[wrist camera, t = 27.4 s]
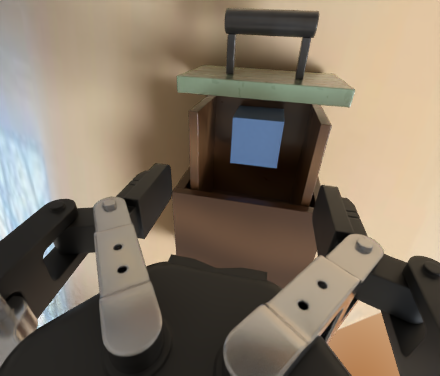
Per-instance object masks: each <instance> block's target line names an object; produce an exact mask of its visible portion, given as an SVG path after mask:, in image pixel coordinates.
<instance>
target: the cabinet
mask: <svg viewBox="0 0 440 376" xmlns="http://www.w3.org/2000/svg"><path fill="white" fill-rule="evenodd" d="M320 187H321V186H320V182H319V178H318V177H317V181H316V184H315V188H314V192H313V195H312V199H311V202H310V206H309V207H306V206H299V205H293V204H286V203H279V202H272V201H265V200H259V199H252V198H245V197H238V196H232V195H225V194H218V193H211V192H204V191H198V190H191V186H190V167H189V168H188V170H187V171H186V173H185V174H184V176H183V177H182V179H181V180H180V181H179V183H178V184H177V186H176V187H175V188H174V190H173V191H172V199H173V214H174V228H175V242H176V255H177V256H182V257H188V258H193V259H196V260H198V261H201V262H203V263H206V264H208V265H210V266H213V267H215V268H248V269H253V270H259V271H264V272H267V280H268V281H271V282H273V283H274V284H276V285H278V286H279V287H281V288H282V289H283V288H284V287H285V286H286V285H288V284H289V283H290V282H291V281H292V280H293V279H294V278H295V277H296V276H297V275H298V274H299V273H301V272H302V271H303V270H304V269H305V268H306V267H307V266H308V265H309V264H310V263H311V262H312V261H313V260H314V257H315V254H316V251H317V247H316V241H315V235H314V229H313V223H312V214H313V209H314V206H315V202H316V199H317V196H318V192H319V189H320Z"/></svg>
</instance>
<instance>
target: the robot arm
mask: <svg viewBox="0 0 440 376" xmlns="http://www.w3.org/2000/svg"><path fill="white" fill-rule="evenodd" d="M171 195H172V180H171V168H170V166H169V165H166V164H158V163H155V164H154V165H153V166H152V167H151V168H150V169H149V171H144V172H142V173H140V174H138V175H137V176H136V177H135V178H134V179H133V181H131V182H130V183H129V185H127V186H126V187H125V188H124V189H123V190H122V191H121V192H120V193H119V194H118V195H117V196H116V197H108V198H104V199H102V200H100V201H98V202H97V203H96V204H95V205H94V207H93V208H77V207H76V204H75V202H74V201H73V200H70V199H59V200H55V201H52V202H49V203H47V204H46V205H44V206H43V207H42V208H41V209H39V210H38V211H37V212H36V213H34V214H33V215H32V216H31V217H30V218H28V219H27V220H26V221H25V222H23V223H22V224H21V225H20V226H18V227H17V228H16V229H15V230H14V231H12V232H11V233H10V234H9V235H7V236H6V237H5V238H4V239H2V240H1V241H0V376H351V374H350V373H349V372H348V370H347V369H346V368H345V367H344V365H343V364H342V362H341V361H340V360H339V359H338V357H337V356H336V355H335V353H334V352H333V351H332V349H331V348H330V347H329V346H328V343H329V342H330V340H331V339H332V337H333V335H334V334H335V332H336V331H337V329H338V328H339V326H340V325H341V324H342V322H343V321H344V320H345V318H346V317H347V316H348V314H349V313H350V312H351V310H352V309H353V308H354V306H355V305H356V304H357V302H358V301H359V300H360V301H362V302H364V303H366V304H368V305H371V306H373V307H375V308H377V309H379V310H381V313H382V316H383V319H384V323H385V326H386V330H387V333H388V336H389V340H390V343H391V346H392V350H393V354H394V357H395V360H396V364H397V367H398V371H399V374H400V376H440V263H439V262H437V261H435V260H433V259H431V258H428V257H424V256H413V257H411V258H410V259H409V261H408V262H407V263H406V262H404V261H401V260H398V259H395V258H393V257H390V256H388V255H386V254H384V250H383V248H382V247H381V245H380V244H379V243H378V242H376V241H375V240H374V239H372V238H370V237H368V236H367V234H366V231H365V229H364V227H363V224H362V222H361V220H360V219H359V218H360V217H359V215H358V213H357V210H356V208H355V206H354V204H353V203H352V202H351V201H350V200H349V199H347V198H342V197H341V195H340V192H339V190H338V187H333V186H325V185H321V187H320V189H319V192H318V196H317V199H316V202H315V206H314V209H313V214H312V223H313V229H314V235H315V241H316V247H317V252H318V257H317V258H316V259H315V260H314V261H312V262H311V263H310V264H309V265H308V266H307V267H306V268H305V269H304V270H303V271H302V272H301V273H299V274H298V275H297V276H296V277H295V278H294V279H293V280H292V281H291V282H290V283H289V284H288V285H286V286H285V287H284V288H283V289H282V288H281V287H279V286H278V285H276V284H274V283H273V282H271V281H268V280H267V272H264V271H259V270H253V269H248V268H215V267H213V266H210V265H208V264H206V263H203V262H201V261H198V260H196V259H193V258H188V257H182V256H177V255H172V254H171V256H170V259H169V261H168V262H159V263H155V264H152V265H149V266H147V267H146V265H145V261H144V258H143V255H142V251H141V248H140V245H139V241H138V238H142V239H145V238H146V236H147V234H148V233H149V231H150V230H151V228H152V227H153V225H154V224H155V222H156V221H157V219H158V217H159V216H160V214H161V213H162V211H163V210H164V208H165V207H166V205H167V203H168V202H169V200H170V198H171ZM52 242H53V243H54V245H55V247H54V248H53V249H52V250H51V252H50V253H49V254H48V255H47V256H46V257H45V258H44V259H43V254H44V252H45V250H46V249H47V248H48V247H49V246H50V245H51V243H52ZM92 252H96V262H97V272H98V282H99V292H100V293H99V294H97V295H95V296H93V297H92V298H90V299H88V300H86V301H85V302H83V303H81V304H79V305H78V306H76V307H74V308H73V309H71V310H69V311H67V312H66V313H64V314H62V315H60V316H59V317H57V318H55V319H53V320H52V321H50V322H48V323H46V324H45V325H43V326H41V327H40V328H38V329H37V326H38V321H37V319H38V318H39V316H40V315H41V314H42V312H43V311H44V310H45V308H46V307H47V306H48V305H49V303H50V302H51V301H52V299H53V298H54V297H55V296H56V294H57V293H58V292H59V290H60V289H61V288H62V286H63V285H64V284H65V283H66V281H67V280H68V279H69V277H70V276H71V275H72V273H73V272H74V271H75V270H76V268H77V267H78V266H79V264H80V263H81V262H82V261H83V259H84V258H85V257H86V255H87V254H88V253H92Z"/></svg>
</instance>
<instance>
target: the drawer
mask: <svg viewBox="0 0 440 376" xmlns="http://www.w3.org/2000/svg"><path fill="white" fill-rule="evenodd" d="M318 20H319V11H299V10H269V9H239V8H227V10H226V13H225V32H226V33H227V34H228V43H227V63H226V67H225V66H211V65H203V66H201V67H198V68H196V69H193V70H191V71H188V72H185V73H183V74H180V75H178V76H177V92H179V93H191V94H202V95H208V96H207V97H205V98H204V99H203V100H202V101H201V102H199V103H198V104H197V105H196V106H195V107H193V108H192V109H191V110H190V111H189V144H190V186H191V190H198V191H204V192H211V193H218V194H225V195H232V196H238V197H245V198H252V199H259V200H265V201H272V202H279V203H286V204H293V205H299V206H306V207H309V206H310V202H311V199H312V195H313V192H314V188H315V184H316V181H317V177H318V174H319V170H320V166H321V163H322V159H323V156H324V152H325V148H326V145H327V141H328V138H329V134H330V130H331V127H332V125H331V123H330V121H329V120H328V118H327V116H326V114H325V112H324V110H323V109H322V107H321V105H328V106H340V107H350V106H351V103H352V99H353V96H354V93H355V89H354V88H352V87H351V86H350V85H348V84H347V83H346V82H344V81H343V80H342V79H340V78H339V77H338V76H336V75H335V74H326V73H312V72H305V67H306V62H307V57H308V52H309V47H310V42H311V38H313V37H314V36H315V33H316V29H317V25H318ZM236 34H243V35H264V36H284V37H303V38H302V41H301V47H300V52H299V58H298V63H297V69H296V71H283V70H268V69H254V68H240V67H235V52H236V37H237V35H236ZM240 105H241V106H253V107H265V108H277V109H284V127H283V133H282V139H281V145H280V151H279V157H278V163H277V168H269V167H261V166H253V165H244V164H236V163H230V155H231V138H232V121H233V116H234V114H235V113H236V111H237V109H238V108H239V106H240Z"/></svg>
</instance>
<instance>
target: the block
mask: <svg viewBox="0 0 440 376" xmlns="http://www.w3.org/2000/svg"><path fill="white" fill-rule="evenodd" d="M283 127H284V109H277V108H265V107H253V106H241V105H240V106H239V108H238V109H237V111H236V113H235V114H234V116H233V121H232V138H231V155H230V163H236V164H244V165H253V166H261V167H269V168H277V163H278V157H279V151H280V145H281V139H282V133H283Z"/></svg>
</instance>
